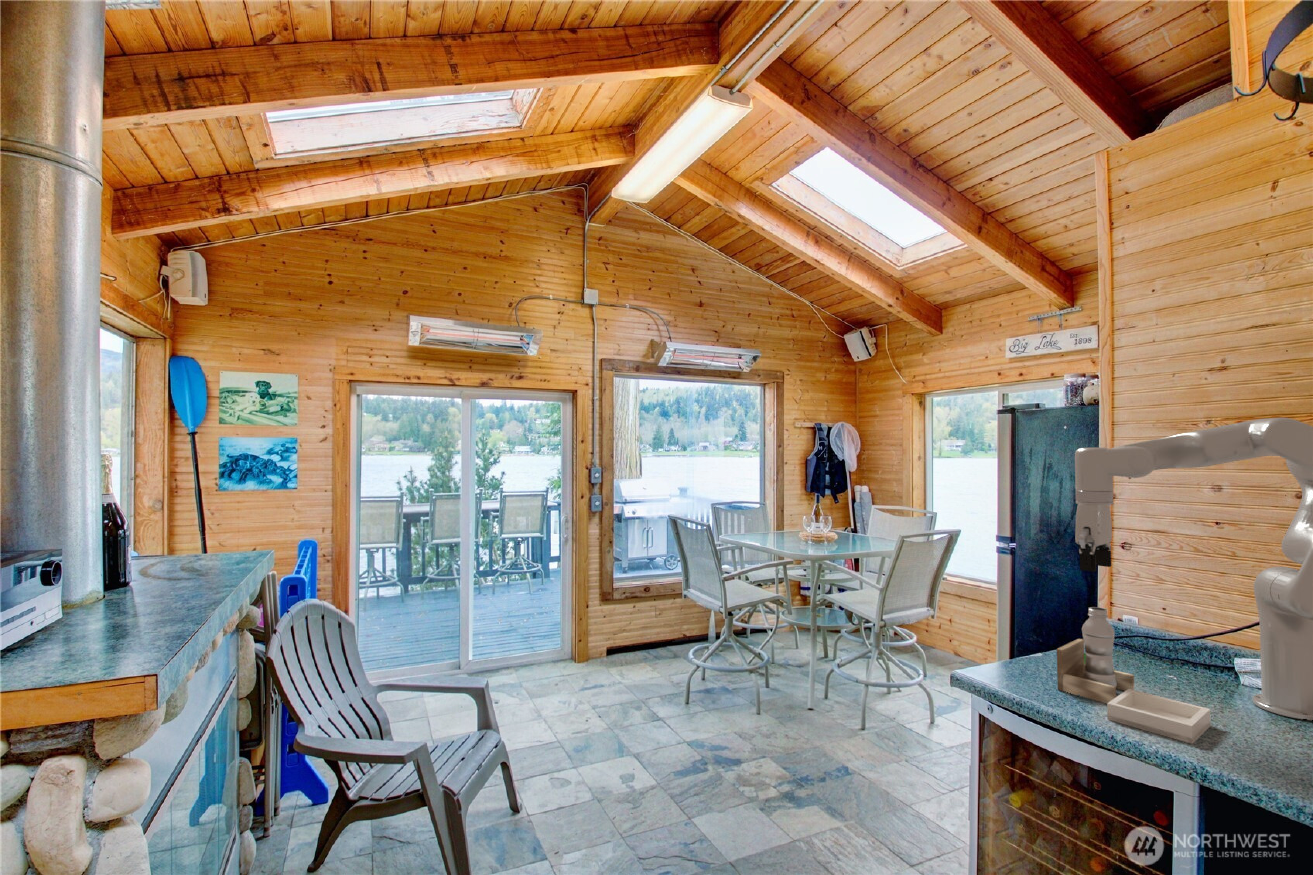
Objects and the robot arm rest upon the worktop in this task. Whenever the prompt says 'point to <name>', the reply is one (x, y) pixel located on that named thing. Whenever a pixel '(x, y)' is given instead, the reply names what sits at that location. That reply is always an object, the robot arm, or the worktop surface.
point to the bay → (1073, 672)
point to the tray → (1159, 715)
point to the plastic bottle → (1099, 647)
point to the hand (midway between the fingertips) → (1095, 568)
